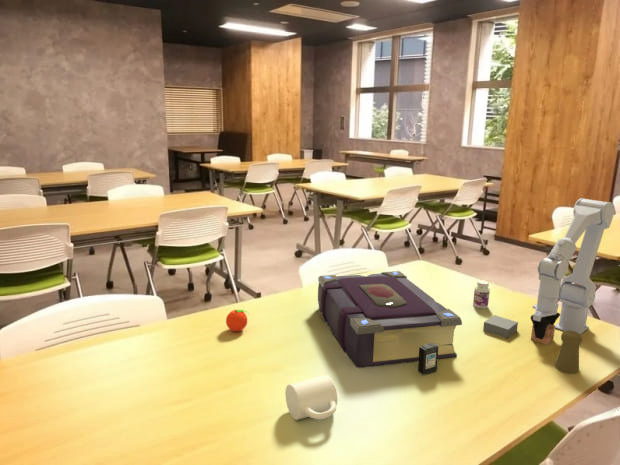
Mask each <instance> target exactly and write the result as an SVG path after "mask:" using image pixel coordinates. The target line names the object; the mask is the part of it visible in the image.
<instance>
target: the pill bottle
mask: <svg viewBox="0 0 620 465" xmlns="http://www.w3.org/2000/svg"><path fill="white" fill-rule="evenodd" d="M476 284H477V285H476V286H475V287H474V292H473V302H472V306H474V307H475V308H477V309H487V308H488V307H489V300H490V294H491V293H490V292H491V291H490V290H491V289H490V288H489V286H490V285H489V284H490V283H489V281H485V280H477V283H476Z"/></svg>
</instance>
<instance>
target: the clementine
mask: <svg viewBox="0 0 620 465" xmlns="http://www.w3.org/2000/svg"><path fill="white" fill-rule="evenodd" d="M246 313H248V311H246V310H245V309H244V310H243V309H234V310H232V311H229V313H228V314H227V316H226V319H225V323H226V326H227V328H228V329H229V330H231V331H232V332H241V331H242V330H244V329H245V328H246V327H247V324H248V316H247V314H246Z"/></svg>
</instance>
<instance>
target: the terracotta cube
mask: <svg viewBox="0 0 620 465" xmlns="http://www.w3.org/2000/svg"><path fill="white" fill-rule="evenodd" d="M555 325H556V324H554V325H551V324H549V325H548V327H547V329H546V331H545V335H544V337H543V339H542V340H541V339H538V338H536V337H535V331H534V326H533V325H532V327H531V328H532V329H531V336H530V340H532V341H534V342H537V343H540V344H544V345H546V346H548V345H549V344H551V343H552V342H553V341H554V337H555V331H556V328H555Z"/></svg>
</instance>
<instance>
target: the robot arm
mask: <svg viewBox="0 0 620 465" xmlns="http://www.w3.org/2000/svg"><path fill="white" fill-rule="evenodd" d="M572 211H573V212H572V214H573V218H572V221H571V222H570V225H569V227H568V229H567V231H566V233H565V235H564V237H563V238H558V240H557V241H556V243H555V244H554V245H553V248H552V249H551V251H550V252H549V254H548V255H547V257H544V258H541V260H540V262H539V263H538V266H537V273H538V280H539V287H538V293H537V294H538V295H537V301H536V304H534V305H532V309H535V311H534V313H533V314H532V315H531V316H530V320H531V323H532V327H533V326H534V331H535V337H536V338H538V339H541V340H542V339H543V337H544V335H545V331H546V329H547V327H548V325H549V324H551V325H555V329H557V330H560V331H563V332H564V331H575V332H577V333H579V334H580V335H583V333H584V332H586V331H587V330H588V329H589V328H590V326H588V325H587V319H588V315H589V307H591V306H592V305H593V304H594V302H595V299H596V289H597V286H596V284H595V283H594V282H593V281H592V279H591V278H590V277H591V274H592V273H591V272H592V271H593V268H594V264H595V260H596V258H597V254H598V250H599V247H600V244H601V242H602V238H603V235H604V231H605V230H607V229H609V228H610V226H611V225H612V224H611V223H612V220H613V218H614V215H615V207H614V205H613V202H611V201H602V200H595V199H588V198H583V197H581V198H579V199H578V200H576V202H575V203H574V207H573V210H572ZM583 234H584V235H583ZM582 235H583V238H582V241H581V244H580V248H579V250H578V254H577V257H576V261H575V263H574V267H573V270H572V273H571V274H569V275H567V272H568V268H569V266H570V265H569V262H570V260H571V259H572V256H574V253H575V252H576V250H577V247H578V246H577V245H576V243H577V242H578V240H579V239H580V238H581V237H582ZM566 275H567V276H566ZM559 300H560V303H561V309H560V312H558V310H559V303H558V302H559ZM558 318H559V322H558V323H556V321H557V320H558ZM555 323H556V324H555Z"/></svg>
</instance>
